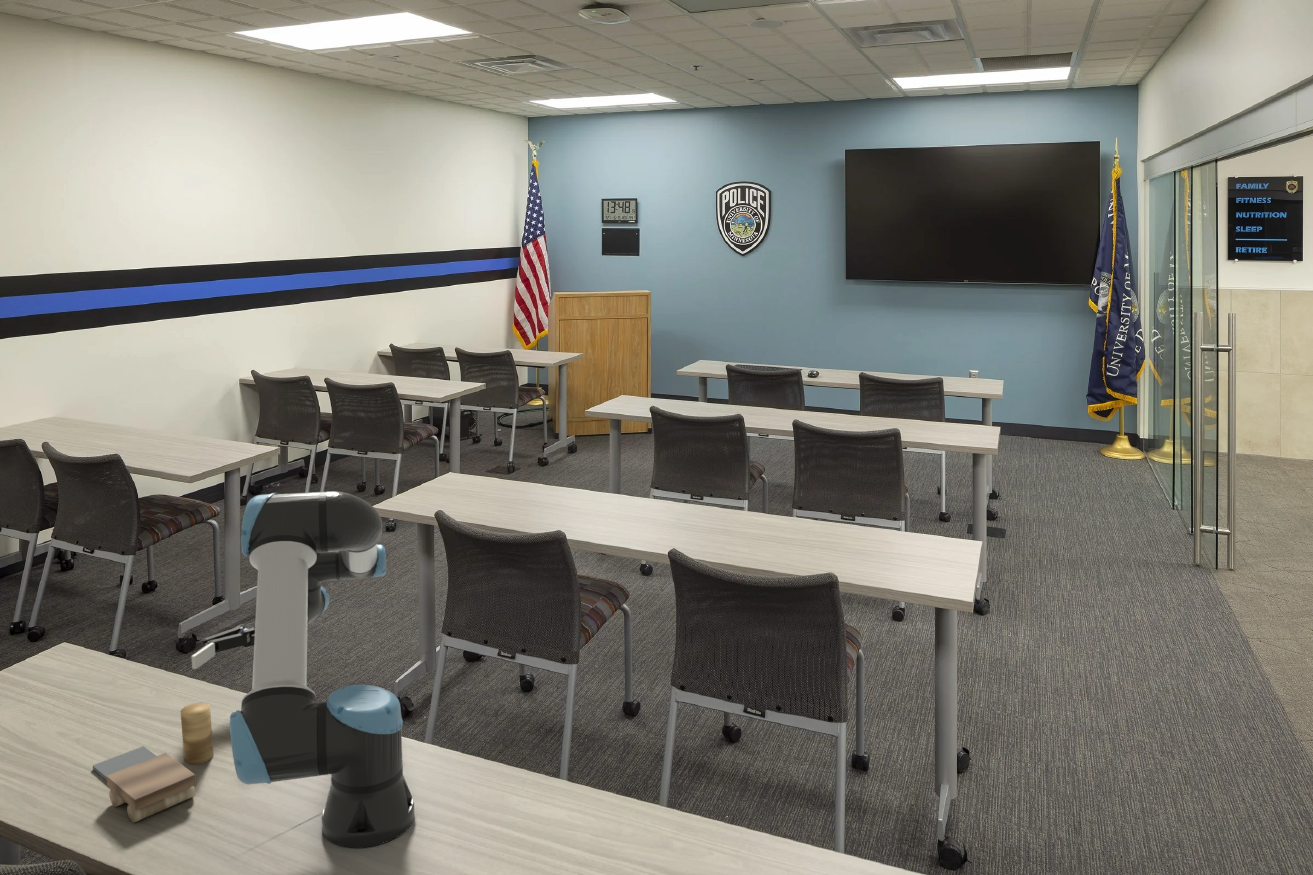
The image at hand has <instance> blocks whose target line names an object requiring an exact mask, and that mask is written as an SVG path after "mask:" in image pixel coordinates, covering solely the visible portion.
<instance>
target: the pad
mask: <svg viewBox="0 0 1313 875" xmlns="http://www.w3.org/2000/svg"><path fill="white" fill-rule="evenodd" d="M156 756H157V755H156V754H154V752H152V751H151V750H149V749H148V748H146V747H145V746H144V745H142V746H140V747H137V748H135V749H132V750H129V751H126V752H125V753H121V754H119V755H116V756H114V757H111V758H108V759H105V760H103V761H101V762H97V763H95V764H93V765H92V770H93V771H94V772H96V773H97V774H98V775H99V776H100V777H101V778H102V779H103V780H105V781H106V782H107V777H106V776H107V775H110V774H112V773H115V772H118V771H120V770H123V769H125V768H128V767H130V766H133V765H135V764H138V763H141V762H143V761H146V760H148V759H151V758H153V757H156Z"/></svg>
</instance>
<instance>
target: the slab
mask: <svg viewBox="0 0 1313 875" xmlns="http://www.w3.org/2000/svg"><path fill="white" fill-rule="evenodd" d="M106 777H107V781H106V786H107V787H108V788H109V789H110V790H109V794H108V795H109V800H110V803H111V804H112V806H113V807H115V808H117V807H118V806H121V805H124V804H127V808H126V810H127V811H126V812H127V816H128V818H129V820H130V821H131V823H133V824H134V823H136V822H139V821H141V820H144V819H146V818H148V817H151V816H153V815H154V814H157V813H159V812H161V811H162V812H163V811H164V810H167V809H169V808H171V807H173V806H175V805H178V804H180V803H183V802H184V801H187V800H189V799H192V798H193V797H195V795H196V790H195V789H196V788H195V786H196V785H197V782H196V774H195V773H194V772H192V771H191V770H189V768H187V767H186V766H184V765H183V764H182V763H180V762H179V761H178V760H176V758H173V757H172V756H171V755H169V754H168V753H167V752H163V753H161V754H159V755H156V757H153V758H151V759H148V760H146V761H143V762H141V763H138V764H135V765H133V766H130V767H128V768H125V769H123V770H120V771H118V772H115V773H112V774H110V775H107V776H106Z"/></svg>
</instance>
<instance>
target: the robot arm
mask: <svg viewBox="0 0 1313 875" xmlns="http://www.w3.org/2000/svg"><path fill="white" fill-rule="evenodd" d="M383 528H384V527H383V521H382V517H381V515H380V513H379V512H378V511H377V509H376V508H375V507H374V506H373V505H372V504H370V503H369V502H368V501H366V500H365V499H362V498H361V497H358V496H357V495H353V494H351V493H348V492H345V491H344V492H343V491H336V490H330V491H329V490H327V491H317V492H316V491H315V492H312V491H309V492H295V493H294V492H293V493H278V492H272V493H269V494H259V495H255V496H253V497H252V498H250V499H249V500H248V501H247V504H246V506H245V509H244V512H243V517H242V524H241V537H240V548H241V552H242V555H243V556H244V557H248V559H249V563H250V566H252V568H255V569H256V570H257V582H256V583H257V586H256V603H255V604H256V605H255V626H252V627H250V628H246V627H245V624H239V625H237V626H235V627H233V628H231V629H228V630H225V631H221V632H219V633H216V634H213V635H210V636H207V637H204V638H202V639H201V648H200V649H198V650H197V652H195V653H193V654H192V655H191V657H190V658H191V668H192V670H196V669H198V668H200V667H201V666H203V664H206V662H208V661H209V660H211V659H212V658H214V656H216V653H219V652H224V651H228V650H231V649H235V648H239V647H244V648H248V647H252V646H254V647H253V662H252V663H253V664H252V683H251V684H252V685H251V686H252V687H251V690H250V691H249V692H248V693H246V694H245V695H244V696H243V697H242V698H241V699H242V700H241V707H240V708H241V710H239V709H237V710H236V711H233V712H232V713H230V715H229V733H230V743H231V744H230V745H231V752H232V757H233V758H232V759H233V764H234V770H235V773H236V776H237V778H238V780H239V781H240V782H241V783H243V784H244V785H256V784H257V785H258V784H267V785H269V784H271V783H275V782H276V783H277V782H282V781H291V780H296V779H306V778H313V777H321V776H328V775H330V780H331V781H330V788H329V791H328V795H327V797H326V798H327V799H326V801H325V806H324V807H323V810H322V813H321V814H322V815H321V826H322V827H321V828H322V833H323V835H324V837H325V838H326V839H327V840H328V841H329V842H332V843H333V844H335V845H337V846H341V847H345V848H368V847H374V845H375V846H378V844H379V845H382V844H384V843H383V842H385V843H387V842H386V841H388V842H390V841H392V840H394V839H396V838H398V837H399V836H401V835H402V834H403V832H404V831H405V830H406V829H407V828H408V827H409V826H411V825H412V824H413V822H414V819H415V802H414V799H413V798H414V797H413V794H412V793H411V790H410V788H409V786H408V783H407V781H406V778H405V776H404V773H403V772H404V770H403V769H404V768H403V767H404V765H403V763H404V762H403V742H402V739H403V738H402V728H403V723H404V721H403V717H402V712H401V711H402V710H401V704H400V700H399V698H398V697H397V696H396V695H395V694H394V693H393V692H391V691H390V690H387V689H386V688H383V687H380V686H377V685H372V684H350V685H346V686H343V687H342V688H337V689H335V690H333V691H332V692H331V693H330V694H329V696H328V698H327V700H326V701H322V702H317V700H316V699H317V697H316V693H315V691H314V690H312V689H311V688H309V687H308V686H307V678H308V672H307V671H308V670H307V669H308V668H307V667H308V666H307V665H308V625H310V624H311V623H312V622H314V621H315V620H317V619H319V617H320V616H322V614H323V613H324V612H325V611H326V610H327V609H328V607H329V605H330V595H329V594H328V592H327V589H326V588H325V587H323V586H322V583H321V582H323V581H324V582H325V581H326V582H327V581H337V580H338V581H339V580H350V579H351V580H353V579H363V578H364V579H372V578H379V577H383V576H385V575H386V572H387V558H386V557H387V556H386V554H387V553H386V547H385V545H384V544H378V543H379V542H380V540H381V537H382V535H383ZM248 639H249V641H248ZM412 821H413V822H412ZM411 823H412V824H411ZM410 824H411V825H410ZM409 828H410V827H409ZM409 828H408V829H409ZM408 829H407V830H408ZM407 830H406V831H407ZM406 831H405V832H406ZM405 832H404V833H405ZM401 833H402V834H401ZM400 834H401V835H400ZM398 835H399V836H398ZM397 836H398V837H397ZM395 837H396V838H395ZM393 838H394V839H393ZM391 839H392V840H391ZM389 840H390V841H389ZM381 843H382V844H381Z"/></svg>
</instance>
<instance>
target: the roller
mask: <svg viewBox="0 0 1313 875" xmlns="http://www.w3.org/2000/svg"><path fill="white" fill-rule="evenodd" d="M211 715H212V714H211V705H210V704H209V703H206V702H195V703H191V704H188V705H185V706H184V707H183V708H182V709H180V720H181V721H180V722H181V734H182V747H183V748H182V749H183V759H184V763H185V764H187V765H195V766H196V765H200V764H204V763H206V762H208V761H210V760H212V759H213V757H214V744H213V728H212V727H213V726H212V716H211Z"/></svg>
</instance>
